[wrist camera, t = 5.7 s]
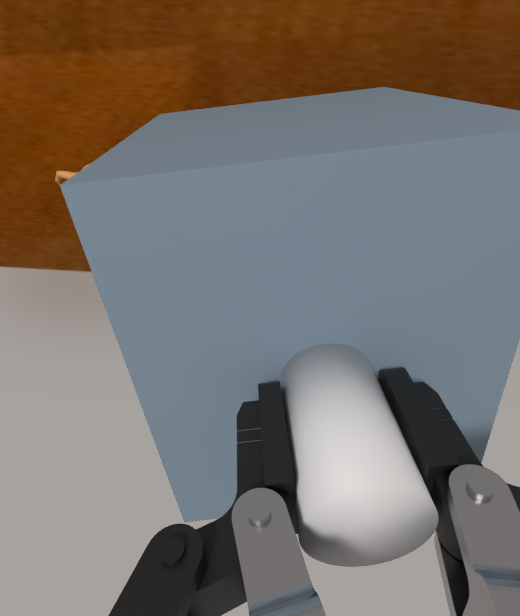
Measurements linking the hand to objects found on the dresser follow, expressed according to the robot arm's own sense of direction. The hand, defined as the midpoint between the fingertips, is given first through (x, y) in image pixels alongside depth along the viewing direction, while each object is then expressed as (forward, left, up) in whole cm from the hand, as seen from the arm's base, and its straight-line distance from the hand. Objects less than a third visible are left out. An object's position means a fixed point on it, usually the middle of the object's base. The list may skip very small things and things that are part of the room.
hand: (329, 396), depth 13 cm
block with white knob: (0, 0, -16) cm, 16 cm away
